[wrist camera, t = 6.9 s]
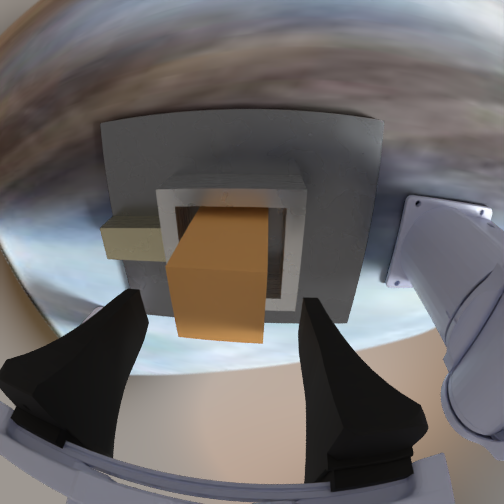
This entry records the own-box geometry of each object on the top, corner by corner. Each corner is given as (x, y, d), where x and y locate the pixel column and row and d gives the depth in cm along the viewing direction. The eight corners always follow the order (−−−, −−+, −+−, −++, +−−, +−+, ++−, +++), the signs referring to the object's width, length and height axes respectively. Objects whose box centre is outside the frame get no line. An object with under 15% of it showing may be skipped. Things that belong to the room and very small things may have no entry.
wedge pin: (268, 200, 18) (267, 272, 11) (265, 255, 20) (262, 343, 13) (205, 198, 18) (165, 266, 11) (208, 252, 20) (178, 336, 13)
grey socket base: (375, 118, 16) (405, 125, 12) (343, 311, 24) (354, 349, 20) (111, 120, 17) (74, 129, 13) (143, 302, 25) (125, 337, 21)
